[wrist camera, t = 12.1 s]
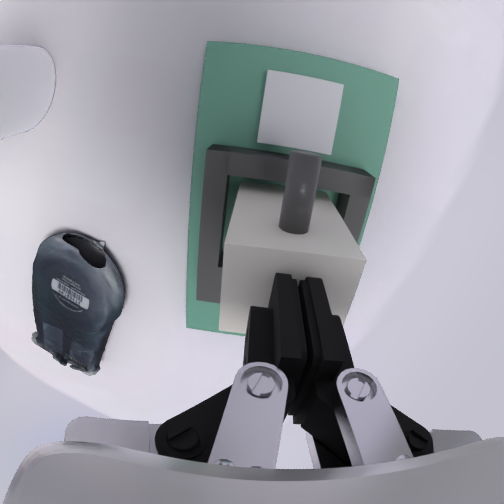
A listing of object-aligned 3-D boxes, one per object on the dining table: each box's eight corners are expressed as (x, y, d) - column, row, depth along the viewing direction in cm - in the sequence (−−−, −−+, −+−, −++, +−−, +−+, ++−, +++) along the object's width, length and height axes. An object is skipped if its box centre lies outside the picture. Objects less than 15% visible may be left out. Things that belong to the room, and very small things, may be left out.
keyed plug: (246, 129, 16) (232, 153, 9) (334, 143, 16) (388, 178, 9) (233, 256, 19) (217, 347, 12) (309, 264, 20) (330, 356, 12)
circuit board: (212, 45, 14) (200, 33, 11) (389, 80, 15) (414, 77, 12) (190, 315, 24) (181, 345, 21) (320, 331, 24) (326, 362, 21)
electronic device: (117, 352, 30) (140, 263, 21) (93, 389, 25) (99, 310, 17) (54, 308, 29) (55, 205, 21) (27, 339, 24) (8, 238, 16)
